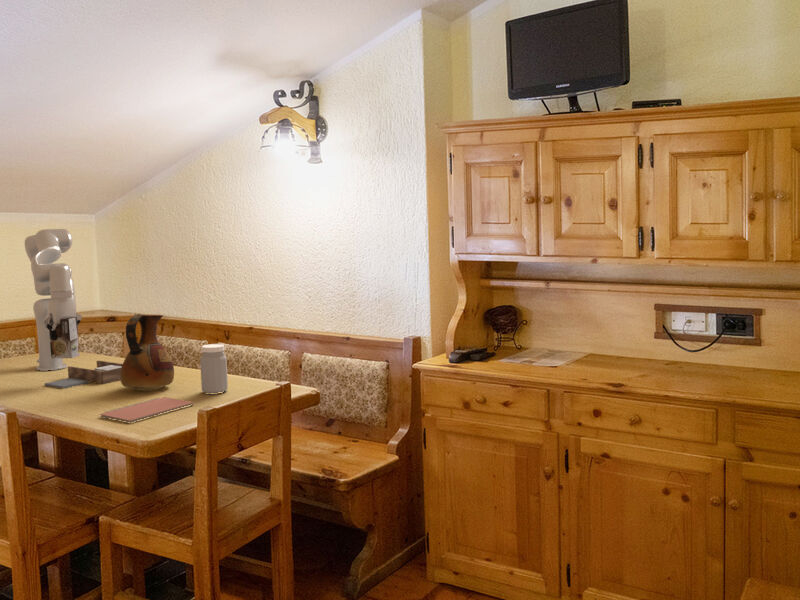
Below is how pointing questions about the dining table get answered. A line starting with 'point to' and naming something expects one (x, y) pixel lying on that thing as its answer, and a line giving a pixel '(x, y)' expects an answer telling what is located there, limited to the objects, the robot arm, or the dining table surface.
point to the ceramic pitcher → (146, 357)
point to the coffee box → (65, 339)
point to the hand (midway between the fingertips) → (64, 338)
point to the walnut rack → (96, 373)
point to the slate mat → (66, 383)
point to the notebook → (145, 409)
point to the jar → (213, 369)
